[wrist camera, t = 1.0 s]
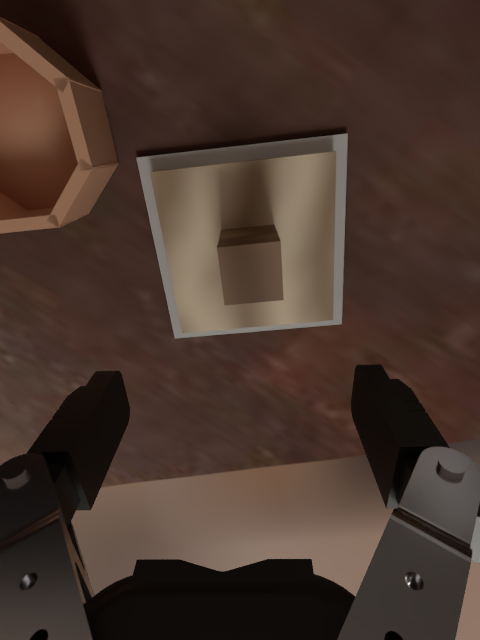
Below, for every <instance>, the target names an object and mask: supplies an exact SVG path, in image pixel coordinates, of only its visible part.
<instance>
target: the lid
mask: <svg viewBox="0 0 480 640" xmlns="http://www.w3.org/2000/svg"><path fill="white" fill-rule="evenodd" d="M150 176H151V181H152V186H153V191H154V196H155V201H156V206H157V211H158V216H159V221H160V226H161V231H162V236H163V241H164V246H165V250H166V255H167V260H168V265H169V270H170V275H171V280H172V285H173V290H174V295H175V300H176V305H177V310H178V315H179V320H180V325H181V330H182V333H191V332H202V331H214V330H225V329H237V328H248V327H260V326H271V325H283V324H295V323H306V322H318V321H329V320H333V299H334V247H335V194H336V151H328V152H319V153H310V154H302V155H293V156H284V157H275V158H266V159H257V160H248V161H239V162H230V163H221V164H212V165H203V166H194V167H185V168H176V169H167V170H158V171H152V172H150Z"/></svg>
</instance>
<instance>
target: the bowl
mask: <svg viewBox="0 0 480 640" xmlns="http://www.w3.org/2000/svg"><path fill="white" fill-rule="evenodd" d="M118 165H119V162H118V159H117V155H116V150H115V146H114V142H113V138H112V134H111V129H110V125H109V121H108V117H107V112H106V108H105V104H104V100H103V95H102V91H101V89H99V88H98V87H97V86H95V85H94V84H93V83H92V82H91V81H90V80H88V79H87V78H86V77H85V76H84V75H82V74H81V73H80V72H79V71H78V70H77V69H75V68H74V67H73V66H72V65H71V64H69V63H68V62H67V61H66V60H65V59H64V58H62V57H61V56H60V55H59V54H58V53H56V52H55V51H54V50H53V49H52V48H50V47H49V46H48V45H47V44H46V43H45V42H43V41H42V40H41V39H40V38H39V37H38V36H36V35H35V34H33V33H31V32H29V31H27V30H25V29H23V28H21V27H19V26H17V25H15V24H13V23H11V22H9V21H7V20H6V19H4V18H2V17H0V233H9V232H18V231H28V230H37V229H47V228H56V227H58V228H60V227H62V226H64V225H66V224H68V223H70V222H73V221H75V220H77V219H79V218H81V217H83V216H85V215H88V214H89V213H90V211H91V209H92V207H93V206H94V204H95V202H96V201H97V199H98V197H99V196H100V194H101V192H102V191H103V189H104V187H105V186H106V184H107V182H108V181H109V179H110V177H111V176H112V174H113V172H114V171H115V169H116V167H117V166H118Z"/></svg>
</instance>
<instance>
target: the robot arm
mask: <svg viewBox="0 0 480 640" xmlns="http://www.w3.org/2000/svg"><path fill="white" fill-rule="evenodd" d="M351 411H352V417H353V421H354V423H355V426H356V429H357V431H358V434H359V437H360V439H361V442H362V445H363V447H364V450H365V453H366V455H367V458H368V461H369V463H370V466H371V469H372V471H373V474H374V477H375V479H376V482H377V485H378V487H379V490H380V493H381V496H382V498H383V501H384V503H385V506H386V508H387V509H394V510H393V512H392V514H391V516H390V519H389V521H388V524H387V526H386V528H385V530H384V533H383V535H382V537H381V539H380V542H379V544H378V546H377V549H376V551H375V553H374V556H373V558H372V560H371V563H370V565H369V567H368V570H367V572H366V574H365V576H364V579H363V581H362V583H361V586H360V588H359V590H358V592H357V595H356V597H355V596H354V595H353V594H351V593H350V592H348V591H347V590H346V589H344V588H343V587H341V586H340V585H338V584H336V583H335V582H333V581H331V580H328V579H326V578H324V577H321V576H318V575H315V574H314V573H313V566H312V560H311V559H267V560H264V561H260V562H257V563H254V564H250V565H246V566H243V567H239V568H236V569H233V570H229V571H225V572H220V571H216V570H212V569H209V568H206V567H203V566H199V565H195V564H193V563H189V562H186V561H183V560H137V561H136V565H135V569H134V573H133V575H132V576H129V577H126V578H124V579H122V580H119V581H117V582H115V583H113V584H112V585H110V586H108V587H106V588H105V589H103V590H102V591H100V592H99V593H98V594H96V595H95V594H94V591H93V589H92V586H91V583H90V580H89V577H88V573H87V571H86V567H85V564H84V560H83V557H82V554H81V551H80V548H79V544H78V541H77V538H76V535H75V531H74V528H73V525H72V523H71V520H72V518H73V515H74V513H75V511H76V510H91V508H92V506H93V504H94V502H95V499H96V497H97V495H98V492H99V490H100V488H101V485H102V483H103V481H104V478H105V476H106V474H107V471H108V469H109V467H110V464H111V462H112V460H113V457H114V455H115V453H116V450H117V448H118V446H119V444H120V441H121V439H122V437H123V434H124V432H125V430H126V427H127V425H128V422H129V417H130V407H129V402H128V398H127V394H126V390H125V386H124V382H123V377H122V374H121V372H120V371H97V372H95V373H94V374H93V376H92V377H91V379H90V380H89V382H88V383H87V385H86V386H80V387H79V388H78V389H76V390H75V391H74V392H72V393H71V394H70V395H69V396H67V398H66V399H65V400H64V402H63V403H62V405H61V406H60V407H59V410H57V412H56V413H55V414H54V416H53V419H52V420H50V421H49V423H48V424H47V426H46V427H45V428H44V430H43V431H42V433H41V434H40V435H39V437H38V438H37V440H36V441H35V442H34V444H33V445H32V447H31V448H30V449H29V451H28V452H27V454H23V455H19V456H17V457H14V458H12V459H10V460H8V461H6V462H5V463H3V464H2V465H0V640H455V638H456V632H457V628H458V622H459V618H460V613H461V608H462V603H463V598H464V594H465V589H466V584H467V579H468V574H469V569H470V564H471V561H473V562H476V563H480V468H479V467H478V465H477V464H476V463H475V462H474V461H473V460H471V459H470V458H469V457H467V456H466V455H464V454H462V453H461V452H458V451H456V450H453V449H450V447H449V446H448V444H447V443H446V441H445V440H444V438H443V437H442V435H441V434H440V432H439V431H438V429H437V427H436V426H435V424H434V423H433V421H432V420H431V418H430V417H429V415H428V414H427V413H425V409H424V408H423V406H422V405H421V403H419V400H418V398H417V397H416V395H415V394H414V392H413V391H412V389H411V388H409V387H408V386H407V385H405V384H404V383H403V382H401V381H400V380H399V379H389V377H388V375H387V374H386V372H385V370H384V369H383V367H382V366H381V365H380V364H378V365H357V366H356V368H355V374H354V382H353V391H352V399H351Z"/></svg>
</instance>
